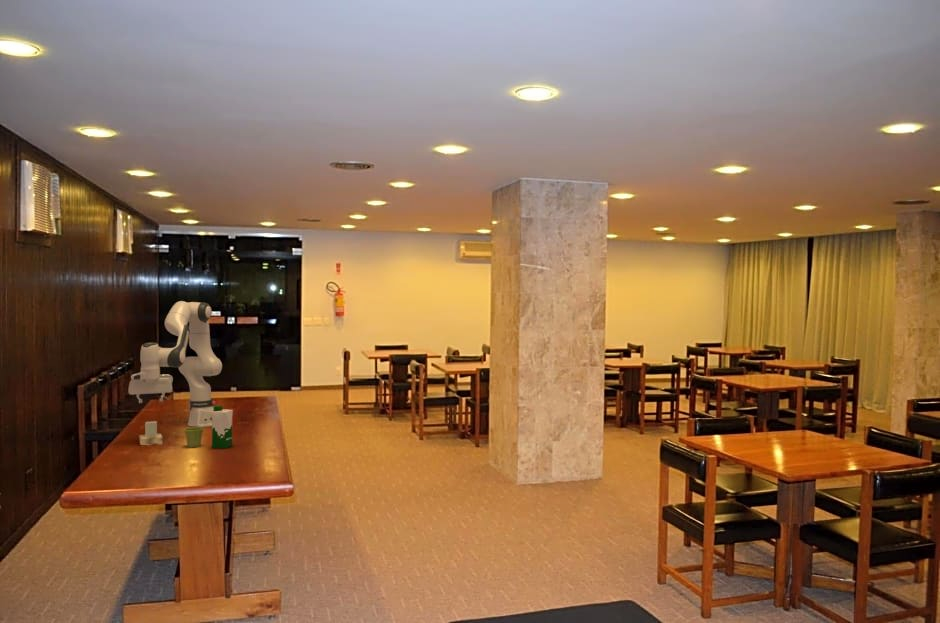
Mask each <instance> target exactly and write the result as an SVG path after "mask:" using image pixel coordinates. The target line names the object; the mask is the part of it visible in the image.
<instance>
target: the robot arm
mask: <svg viewBox="0 0 940 623" xmlns="http://www.w3.org/2000/svg"><path fill="white" fill-rule="evenodd" d="M212 313H213V310H212V306H211V305H210V304H209V303H207V302H197V301H191V302H186V301H184V300H180V301H177V302H175V303H174V304H173V305H172V306H171V309H170V310H169V312H168V314H167V315H166V317H165V319H164V327H165V329H166V330H167V332H169V333H170V334H172V335H174V336H177V337H178V338H177V342H176V346H173V347H161V346H159V344H158V343H157V342H153V341H152V342H145V343H143V344H142V345H141V348H140V356H139V357H140V360H139V361H140V363H141V365H140V372H136V373H134V374H132V375H131V376H130V379H131V380H130V381H129V384H128V394H129V395H133V396H134V395H136V398H137V400H138V403H139V404H142V403H143V399H142V398H140V395H149V394H161V397H160V398H159V403H163V399H164V397H165V395H166V393H167V394H169V393H172V392H173V382H174V381H173V380H174V377H173V376H172V375H171V374H164V373H163V374H161V367H162V368H165V367H166V368H169V367H170V368H175V369H177V368H178V370H179V372H180V374H182V375H183V376H184V378H185V379H186V381H187V383H188V386H189V395H190V397H189V399H190V400H189V403H188V406H189V407H188V408H189V418H188V421H187V426H188V427H202V428H205V427H206V428H207V427H212V417H211V411H213V410H214V406H216V405H215V404H216V403H217V402H216V401H215V400H214V399H212V394H211V393H212V387H211V385H210V384H209V383H208V382H206V380H204V377H212V376H217V375H219V374H221V372H222V369H223V363H222V361H221V359H220V358H218V357H217V356H216V354H215V353H214V352H213V351H214V350H213V349H212V346H211V336H210V332H211V330H210V323H209V320H210V319H211V317H212ZM188 324H189V325H188ZM188 344H189V347H190V349H192V350H193V352H195V353H196V355H197V356H186V354H187V348H188Z"/></svg>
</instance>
